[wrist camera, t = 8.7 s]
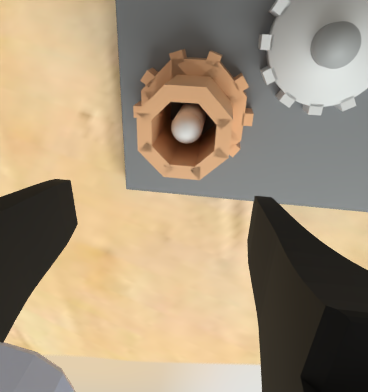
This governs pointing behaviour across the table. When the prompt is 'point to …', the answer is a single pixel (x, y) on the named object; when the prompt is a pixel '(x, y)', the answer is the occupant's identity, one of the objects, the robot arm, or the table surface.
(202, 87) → the planet gear
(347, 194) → the carrier board
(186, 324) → the table surface
